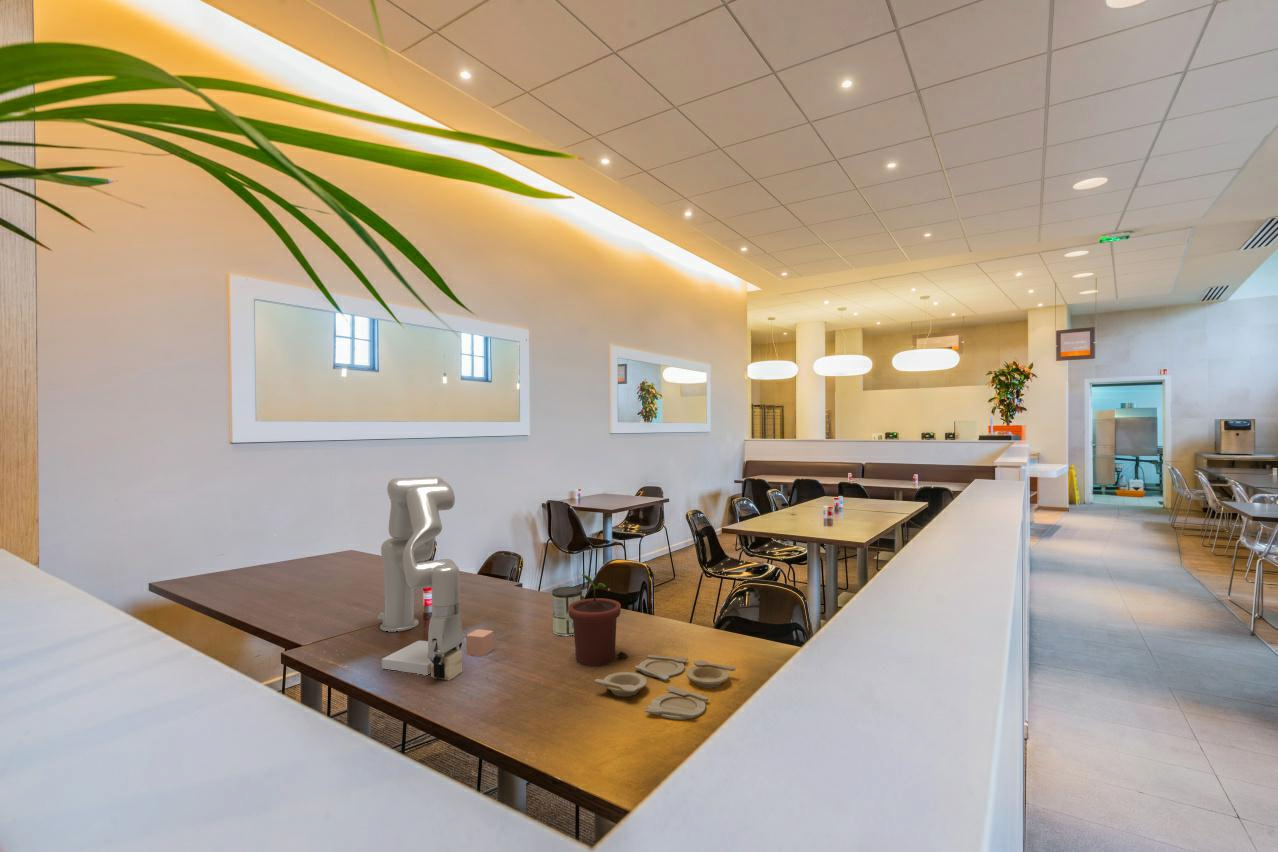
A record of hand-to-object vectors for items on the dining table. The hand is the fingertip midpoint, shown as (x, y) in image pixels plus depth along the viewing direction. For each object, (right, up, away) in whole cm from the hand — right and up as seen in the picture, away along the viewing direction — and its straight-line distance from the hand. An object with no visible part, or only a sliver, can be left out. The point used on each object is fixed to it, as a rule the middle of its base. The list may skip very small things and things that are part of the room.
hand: (446, 672), depth 171 cm
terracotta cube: (+5, -1, +17) cm, 18 cm away
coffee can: (+30, -1, +35) cm, 46 cm away
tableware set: (+62, 0, -10) cm, 63 cm away
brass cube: (0, -1, 0) cm, 1 cm away
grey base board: (-10, -1, +10) cm, 14 cm away
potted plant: (+42, 0, +13) cm, 44 cm away
